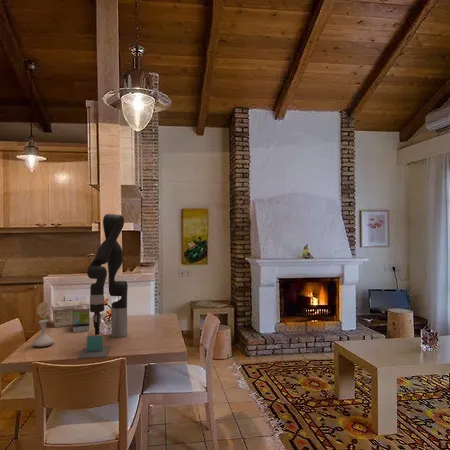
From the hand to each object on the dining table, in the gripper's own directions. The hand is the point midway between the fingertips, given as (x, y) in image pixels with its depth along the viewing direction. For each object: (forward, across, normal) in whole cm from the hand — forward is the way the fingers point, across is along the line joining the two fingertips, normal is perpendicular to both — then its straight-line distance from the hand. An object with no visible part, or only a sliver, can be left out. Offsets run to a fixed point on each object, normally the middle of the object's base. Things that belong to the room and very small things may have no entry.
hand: (97, 334), depth 225 cm
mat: (+8, +7, 0) cm, 11 cm away
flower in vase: (+8, -12, -30) cm, 33 cm away
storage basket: (+7, -64, -25) cm, 70 cm away
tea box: (+7, -47, -16) cm, 50 cm away
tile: (+7, +5, 0) cm, 9 cm away
